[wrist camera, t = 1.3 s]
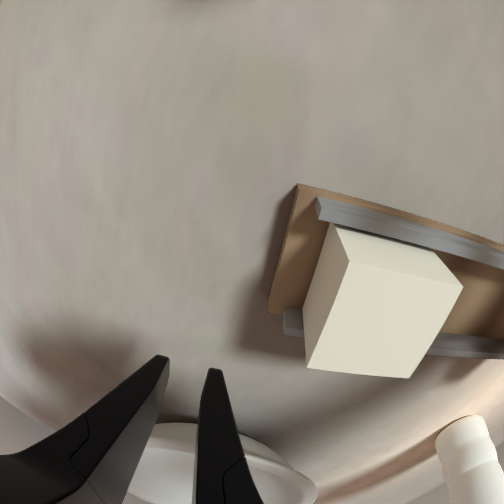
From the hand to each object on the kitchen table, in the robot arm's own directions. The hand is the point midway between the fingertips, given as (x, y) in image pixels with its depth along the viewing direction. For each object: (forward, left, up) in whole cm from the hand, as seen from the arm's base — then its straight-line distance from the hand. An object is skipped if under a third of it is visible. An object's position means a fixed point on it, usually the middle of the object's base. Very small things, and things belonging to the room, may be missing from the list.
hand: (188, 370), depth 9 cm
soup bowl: (-1, +26, -11) cm, 29 cm away
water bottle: (-31, +19, -11) cm, 38 cm away
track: (-15, 0, -11) cm, 19 cm away
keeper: (-8, 0, -9) cm, 12 cm away
